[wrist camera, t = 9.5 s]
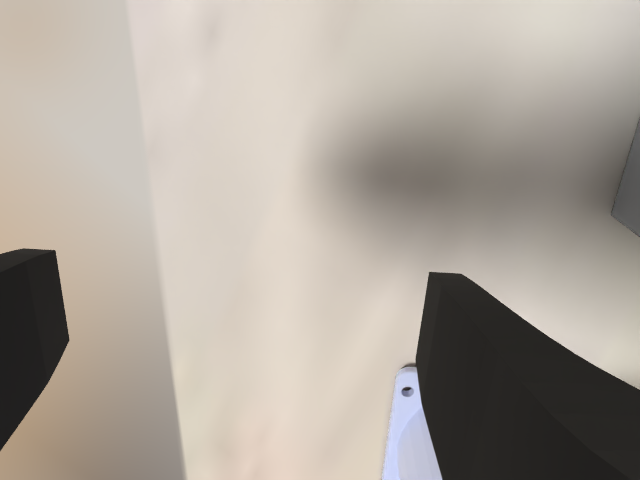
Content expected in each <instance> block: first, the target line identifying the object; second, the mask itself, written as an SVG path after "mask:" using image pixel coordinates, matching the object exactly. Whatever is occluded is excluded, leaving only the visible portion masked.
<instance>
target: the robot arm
mask: <svg viewBox="0 0 640 480" xmlns="http://www.w3.org/2000/svg"><path fill="white" fill-rule="evenodd" d="M68 342H69V334H68V329H67V322H66V315H65V309H64V303H63V296H62V290H61V284H60V277H59V270H58V264H57V258H56V251H55V250H39V249H20V250H14V251H10V252H6V253H3V254H0V451H1V449H2V448H3V446H4V445H5V444H6V442H7V441H8V439H9V438H10V436H11V435H12V434H13V432H14V431H15V430H16V428H17V427H18V425H19V424H20V423H21V421H22V420H23V418H24V417H25V415H26V414H27V413H28V411H29V410H30V408H31V407H32V406H33V404H34V402H35V401H36V400H37V398H38V397H39V395H40V394H41V393H42V391H43V390H44V388H45V386H46V385H47V384H48V382H49V380H50V378H51V376H52V374H53V372H54V371H55V368H56V367H57V365H58V363H59V361H60V359H61V357H62V355H63V352H64V350H65V348H66V346H67V344H68ZM405 387H411V388H412V389H410V390H407V391H405V390H402V389H403V388H405ZM381 480H640V390H639V389H637V388H635V387H633V386H631V385H629V384H627V383H626V382H624V381H622V380H620V379H618V378H616V377H615V376H613V375H611V374H609V373H607V372H605V371H604V370H602V369H600V368H598V367H596V366H595V365H593V364H591V363H589V362H588V361H586V360H584V359H583V358H581V357H579V356H578V355H576V354H574V353H573V352H571V351H570V350H568V349H567V348H565V347H564V346H562V345H561V344H559V343H558V342H556V341H554V340H553V339H551V338H550V337H548V336H547V335H545V334H544V333H542V332H541V331H540V330H538V329H537V328H535V327H534V326H532V325H531V324H530V323H528V322H527V321H525V320H524V319H523V318H521V317H520V316H519V315H517V314H516V313H514V312H513V311H512V310H510V309H509V308H508V307H506V306H505V305H504V304H502V303H501V302H500V301H498V300H497V299H496V298H495V297H493V296H492V295H491V294H489V293H488V292H487V291H485V290H484V289H483V288H481V287H480V286H479V285H477V284H476V283H474V282H473V281H472V280H470V279H469V278H467V277H465V276H464V275H462V274H455V273H438V272H429V277H428V283H427V290H426V296H425V303H424V309H423V315H422V322H421V328H420V335H419V341H418V347H417V354H416V367H404V368H402V369H400V370H399V371H398V372H397V375H396V379H395V386H394V393H393V401H392V408H391V415H390V422H389V429H388V436H387V443H386V450H385V457H384V465H383V472H382V479H381Z"/></svg>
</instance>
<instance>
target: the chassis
mask: <svg viewBox="0 0 640 480" xmlns="http://www.w3.org/2000/svg"><path fill="white" fill-rule="evenodd" d="M611 215H612V216H613V217H614V218H616V219H617V220H618V221H619V222H621V223H622V224H623V225H625V226H626V227H627V228H629V229H630V230H631V231H632V232H634V233H635V234H636V235H638V236H639V237H640V119H639V122H638V126H637V129H636V132H635V136H634V139H633V142H632V146H631V149H630V153H629V156H628V159H627V163H626V166H625V169H624V173H623V176H622V180H621V183H620V186H619V190H618V193H617V197H616V200H615V203H614V207H613V210H612V213H611Z"/></svg>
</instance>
